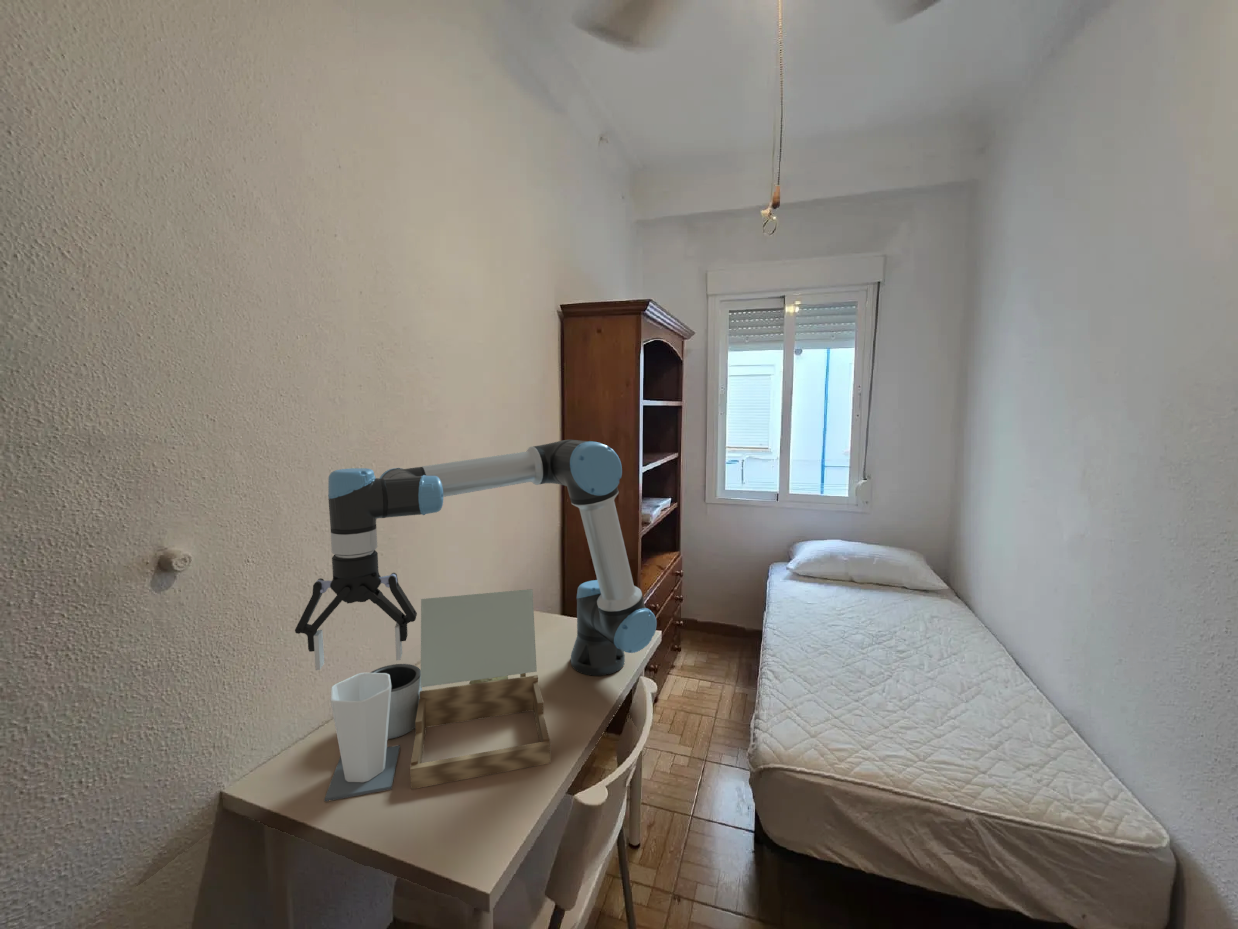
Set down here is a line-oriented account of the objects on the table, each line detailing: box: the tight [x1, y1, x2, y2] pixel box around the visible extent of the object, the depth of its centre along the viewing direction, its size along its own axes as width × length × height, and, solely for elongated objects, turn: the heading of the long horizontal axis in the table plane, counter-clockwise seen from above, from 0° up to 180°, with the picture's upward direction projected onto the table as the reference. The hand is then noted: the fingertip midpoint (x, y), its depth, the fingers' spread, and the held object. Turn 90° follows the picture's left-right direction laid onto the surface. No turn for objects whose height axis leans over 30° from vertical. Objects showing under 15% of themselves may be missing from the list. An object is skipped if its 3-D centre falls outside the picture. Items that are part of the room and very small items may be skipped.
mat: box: [324, 744, 401, 802], centre depth 97 cm, size 11×12×1 cm
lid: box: [420, 588, 538, 688], centre depth 118 cm, size 26×19×1 cm
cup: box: [329, 672, 391, 782], centre depth 97 cm, size 11×10×17 cm
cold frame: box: [409, 673, 551, 790], centre depth 108 cm, size 26×25×16 cm
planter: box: [369, 663, 423, 740], centre depth 112 cm, size 13×13×11 cm
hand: (360, 661), depth 95 cm, fingers open, 13 cm apart
